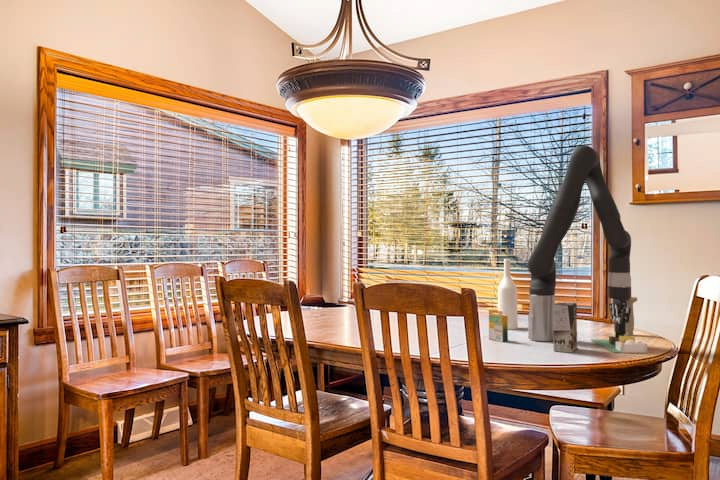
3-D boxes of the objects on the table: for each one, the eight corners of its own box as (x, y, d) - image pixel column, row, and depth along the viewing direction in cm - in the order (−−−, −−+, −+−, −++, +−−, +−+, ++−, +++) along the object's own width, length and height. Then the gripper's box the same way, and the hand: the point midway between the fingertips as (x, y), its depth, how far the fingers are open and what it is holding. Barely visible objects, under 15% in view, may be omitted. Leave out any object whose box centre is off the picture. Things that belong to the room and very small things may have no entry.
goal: (620, 352, 182) (620, 344, 182) (615, 350, 186) (615, 341, 186) (647, 353, 181) (647, 344, 181) (641, 350, 186) (641, 341, 186)
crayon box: (508, 341, 204) (508, 310, 204) (502, 342, 203) (502, 311, 203) (494, 338, 211) (493, 308, 211) (488, 339, 209) (488, 309, 209)
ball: (622, 340, 187) (623, 351, 186) (625, 338, 184) (627, 348, 182) (632, 340, 187) (634, 351, 185) (636, 338, 184) (638, 348, 182)
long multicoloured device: (611, 343, 195) (610, 317, 195) (625, 343, 195) (625, 317, 195) (620, 347, 187) (619, 320, 187) (635, 347, 187) (634, 320, 187)
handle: (637, 336, 211) (637, 298, 211) (619, 335, 214) (619, 297, 214) (637, 334, 215) (637, 296, 215) (619, 333, 218) (619, 296, 218)
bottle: (519, 329, 230) (519, 259, 230) (500, 329, 230) (500, 259, 230) (514, 326, 238) (513, 258, 238) (496, 326, 238) (495, 258, 238)
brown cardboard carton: (611, 344, 194) (611, 337, 194) (609, 343, 196) (608, 336, 196) (627, 344, 194) (627, 337, 194) (624, 343, 196) (624, 336, 196)
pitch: (614, 352, 182) (614, 351, 182) (591, 340, 204) (591, 339, 204) (647, 353, 181) (647, 351, 181) (620, 340, 203) (620, 339, 203)
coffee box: (572, 353, 183) (572, 305, 183) (553, 351, 186) (552, 304, 186) (577, 348, 190) (577, 302, 190) (558, 346, 194) (558, 301, 194)
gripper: (601, 283, 201) (601, 330, 201) (616, 286, 187) (616, 336, 187) (622, 283, 200) (622, 330, 200) (638, 286, 186) (639, 336, 186)
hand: (620, 333), depth 193 cm, fingers closed on long multicoloured device, 3 cm apart
